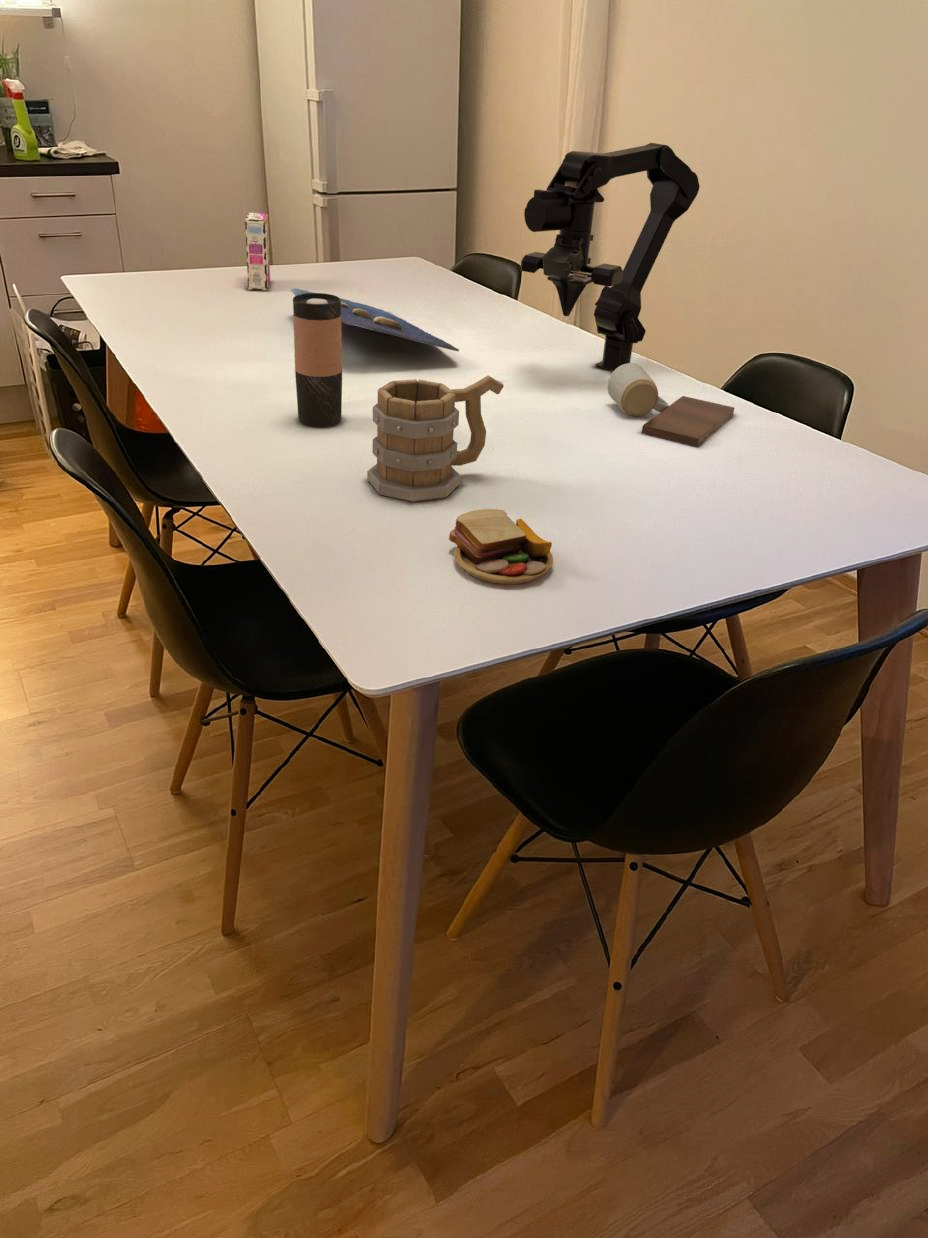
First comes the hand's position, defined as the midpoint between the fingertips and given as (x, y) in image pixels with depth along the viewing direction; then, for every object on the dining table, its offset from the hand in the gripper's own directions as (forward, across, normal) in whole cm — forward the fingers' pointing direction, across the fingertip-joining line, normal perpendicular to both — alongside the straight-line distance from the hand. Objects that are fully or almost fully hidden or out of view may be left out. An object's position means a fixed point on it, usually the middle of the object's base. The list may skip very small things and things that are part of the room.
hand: (566, 315), depth 182 cm
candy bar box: (+12, -92, +17) cm, 94 cm away
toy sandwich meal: (+12, +28, -75) cm, 81 cm away
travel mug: (+12, -21, -49) cm, 55 cm away
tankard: (+12, +8, -58) cm, 60 cm away
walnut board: (+12, +30, -9) cm, 33 cm away
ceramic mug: (+12, +20, -8) cm, 25 cm away
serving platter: (+12, -44, -5) cm, 46 cm away
